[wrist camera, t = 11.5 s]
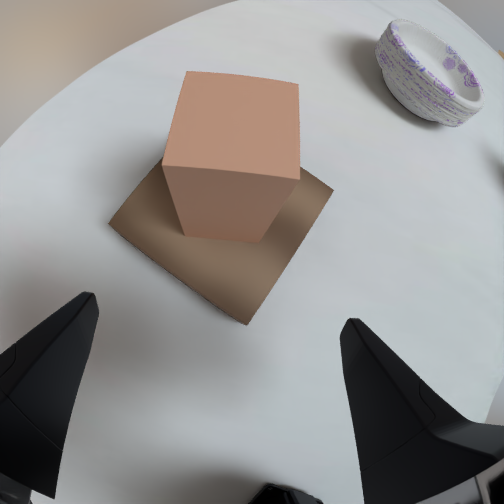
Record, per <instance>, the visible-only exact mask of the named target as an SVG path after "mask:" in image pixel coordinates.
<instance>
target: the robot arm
mask: <svg viewBox="0 0 504 504" xmlns="http://www.w3.org/2000/svg"><path fill="white" fill-rule="evenodd" d="M98 316H99V309H98V305H97V301H96V297H95V295H94V293H91V292H82V293H81V294H79V295H78V296H76V297H75V298H74V299H72V300H71V301H69V302H68V303H67V304H65V305H64V306H63V307H61V308H60V309H59V310H57V311H56V312H54V313H53V314H52V315H50V316H49V317H48V318H46V319H45V320H44V321H42V322H41V323H40V324H39V325H37V326H36V327H35V328H33V329H32V330H31V331H29V332H28V333H27V334H26V335H24V336H23V337H22V338H21V339H19V340H18V341H17V342H16V343H14V344H13V345H12V346H10V347H9V348H8V349H7V350H5V351H4V352H3V353H2V354H0V504H32V502H31V500H30V497H31V492H32V490H34V491H36V492H38V493H41V494H43V495H45V496H48V497H50V498H52V499H55V493H56V486H57V480H58V474H59V468H60V463H61V458H62V453H63V451H62V450H63V447H64V442H65V438H66V434H67V429H68V425H69V421H70V417H71V413H72V410H73V406H74V402H75V399H76V395H77V392H78V388H79V385H80V382H81V378H82V375H83V372H84V369H85V366H86V363H87V360H88V357H89V353H90V350H91V346H92V341H93V337H94V333H95V328H96V324H97V320H98ZM340 346H341V356H342V366H343V375H344V380H345V385H346V390H347V395H348V401H349V406H350V411H351V417H352V422H353V428H354V434H355V440H356V446H357V452H358V459H359V465H360V472H361V480H362V488H363V496H364V504H504V426H501V425H491V424H483V423H476V422H472V421H470V420H468V419H466V418H465V417H464V416H462V415H461V414H460V413H459V412H458V411H456V410H455V409H454V408H453V407H452V406H450V405H449V404H448V403H447V402H446V401H444V400H443V399H442V398H441V397H440V396H439V395H438V394H437V393H435V392H434V391H433V390H432V389H431V388H430V387H429V386H428V385H427V384H426V383H425V382H424V381H423V380H422V379H420V377H419V376H418V375H417V374H416V373H415V372H414V371H413V370H412V369H411V368H410V367H409V366H408V365H407V364H406V363H405V362H404V361H403V360H402V359H401V358H400V357H399V356H398V355H397V354H396V353H395V352H394V351H393V350H391V349H390V348H389V347H388V346H387V345H386V344H385V343H384V342H383V341H382V340H381V339H380V338H379V337H378V336H377V335H376V334H375V333H374V332H373V331H372V330H371V329H370V328H369V327H368V326H367V325H366V324H365V323H364V322H362V321H361V320H360V319H358V318H349V319H348V320H347V321H346V323H345V325H344V327H343V329H342V331H341V334H340ZM269 488H272V489H271V490H268V489H269ZM248 504H323V502H322V501H321V500H319V499H315V498H314V497H313V496H311V495H308V494H305V493H302V492H299V491H296V490H293V489H290V490H288V489H285V488H282V487H279V486H277V485H274V484H267V485H265V486H264V487H263V488H262V490H261V491H260V492H259V493H258V494H257V495H256V496H255V497H254V498H253V499H252V500H251V501H250V502H249V503H248Z"/></svg>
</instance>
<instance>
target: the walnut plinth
mask: <svg viewBox="0 0 504 504" xmlns="http://www.w3.org/2000/svg"><path fill="white" fill-rule="evenodd" d="M162 161H163V158H162V159H161V160H160V161H159V162H158V163H157V164H156V165H155V167H154V168H153V169H152V170H151V171H150V172H149V173H148V175H147V176H146V177H145V178H144V179H143V180H142V182H141V183H140V184H139V185H138V186H137V188H136V189H135V190H134V191H133V192H132V194H131V195H130V196H129V197H128V199H127V200H126V201H125V202H124V204H123V205H122V206H121V207H120V209H119V210H118V211H117V212H116V214H115V215H114V216H113V218H112V219H111V220H110V222H109V223H108V224H109V225H110V226H111V227H112V228H113V229H115V230H116V231H117V232H118V233H119V234H120V235H121V236H123V237H124V238H125V239H126V240H128V241H129V242H130V243H131V244H133V245H134V246H135V247H137V248H138V249H139V250H140V251H142V252H143V253H144V254H146V255H147V256H148V257H150V258H151V259H152V260H153V261H155V262H156V263H157V264H159V265H160V266H161V267H163V268H164V269H165V270H167V271H168V272H169V273H171V274H172V275H173V276H175V277H176V278H178V279H179V280H180V281H182V282H183V283H184V284H186V285H187V286H189V287H190V288H191V289H193V290H194V291H195V292H197V293H198V294H200V295H201V296H203V297H204V298H205V299H207V300H208V301H210V302H211V303H212V304H214V305H215V306H217V307H218V308H220V309H221V310H223V311H224V312H226V313H227V314H228V315H230V316H231V317H233V318H234V319H236V320H237V321H239V322H240V323H242V324H244V325H246V326H247V325H248V323H249V322H250V321H251V319H252V318H253V316H254V315H255V313H256V312H257V310H258V309H259V307H260V306H261V304H262V303H263V301H264V300H265V298H266V297H267V295H268V294H269V292H270V291H271V289H272V288H273V286H274V285H275V283H276V281H277V280H278V278H279V277H280V275H281V274H282V272H283V271H284V269H285V268H286V266H287V265H288V263H289V261H290V260H291V258H292V257H293V255H294V254H295V252H296V251H297V249H298V247H299V246H300V244H301V243H302V241H303V240H304V238H305V236H306V235H307V233H308V232H309V230H310V228H311V227H312V225H313V224H314V222H315V220H316V219H317V217H318V216H319V214H320V212H321V211H322V209H323V208H324V206H325V204H326V203H327V201H328V199H329V198H330V196H331V195H332V193H333V191H334V190H333V189H332V188H330V187H329V186H327V185H326V184H325V183H323V182H322V181H320V180H319V179H318V178H316V177H315V176H313V175H312V174H310V173H309V172H307V171H306V170H305V169H303V168H302V167H300V180H299V182H298V183H297V185H296V186H295V188H294V190H293V191H292V193H291V194H290V196H289V197H288V199H287V200H286V202H285V203H284V205H283V206H282V208H281V209H280V211H279V213H278V214H277V216H276V217H275V219H274V220H273V222H272V223H271V225H270V226H269V228H268V229H267V231H266V232H265V234H264V235H263V237H262V239H261V240H260V242H259V243H251V242H241V241H230V240H220V239H209V238H198V237H187V236H185V235H184V232H183V229H182V226H181V223H180V220H179V217H178V214H177V211H176V208H175V205H174V202H173V199H172V196H171V193H170V190H169V187H168V184H167V181H166V178H165V174H164V171H163V168H162Z"/></svg>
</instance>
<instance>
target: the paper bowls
mask: <svg viewBox="0 0 504 504" xmlns="http://www.w3.org/2000/svg"><path fill="white" fill-rule="evenodd" d="M375 55H376V58H377V61H378V63H379V65H380V67H381V69H382V74H383V78H384V81H385V83H386V85H387V87H388V88H389V90H390V91H391V93H392V94H393V95H394V96H395V97H396V99H397V100H398V101H399V102H400V103H401V104H402V105H404V106H405V107H406V108H407V109H408V110H410V111H411V112H412V113H414V114H416V115H417V116H419V117H421V118H424V119H426V120H430V121H437V122H439V123H441V124H443V125H446V126H449V127H458V126H461V125H462V124H463V123H465V122H466V121H467V120H468V119H469V118H471V117H472V116H473V115H474V114H476V113H477V112H479V110H481V109H482V108H483V106H484V102H485V98H484V93H483V90H482V88H481V85H480V83H479V81H478V80H477V78H476V76H475V75H474V73H473V72H472V70H471V69H470V68H469V66H468V65H467V64H466V62H465V61H464V60H463V59H462V58H461V57H460V56H459V55H458V53H456V51H454V50H453V49H452V48H451V47H450V46H449V45H448V44H447V43H446V42H444V41H443V40H442V39H441V38H439V37H438V36H437V35H435V34H434V33H432V32H431V31H429V30H427V29H426V28H424V27H422V26H420V25H418V24H416V23H413V22H410V21H407V20H402V19H397V20H394V21H392V22H391V23H389V25H388V27H387V29H386V30H385V31H384V33H383V34H382V35H381V38H380V39H379V41H378V42H377V44H376V46H375Z"/></svg>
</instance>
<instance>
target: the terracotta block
mask: <svg viewBox="0 0 504 504" xmlns="http://www.w3.org/2000/svg"><path fill="white" fill-rule="evenodd" d="M162 168H163V171H164V174H165V178H166V181H167V184H168V187H169V190H170V193H171V196H172V199H173V202H174V205H175V208H176V211H177V214H178V217H179V220H180V223H181V226H182V229H183V232H184V235H185V236H187V237H198V238H209V239H220V240H230V241H241V242H251V243H259V242H260V240H261V239H262V237H263V235H264V234H265V232H266V231H267V229H268V228H269V226H270V225H271V223H272V222H273V220H274V219H275V217H276V216H277V214H278V213H279V211H280V209H281V208H282V206H283V205H284V203H285V202H286V200H287V199H288V197H289V196H290V194H291V193H292V191H293V190H294V188H295V186H296V185H297V183H298V182H299V180H300V122H299V88H298V84H295V83H290V82H284V81H278V80H272V79H266V78H259V77H251V76H243V75H234V74H224V73H211V72H194V71H187V72H186V75H185V78H184V81H183V85H182V88H181V91H180V95H179V98H178V102H177V105H176V109H175V113H174V116H173V120H172V124H171V128H170V132H169V136H168V140H167V144H166V148H165V153H164V157H163V161H162Z"/></svg>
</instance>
